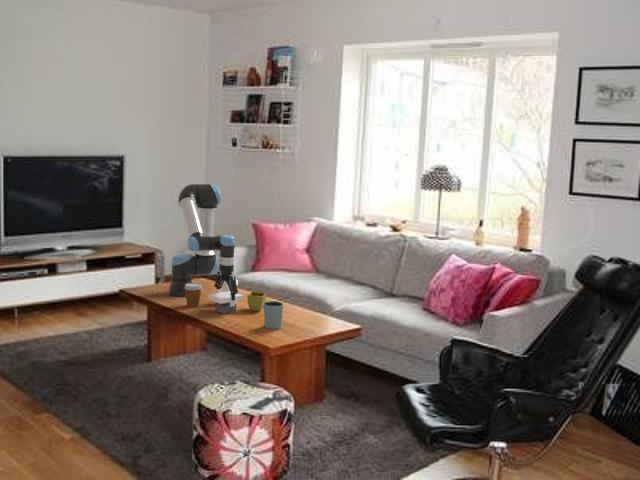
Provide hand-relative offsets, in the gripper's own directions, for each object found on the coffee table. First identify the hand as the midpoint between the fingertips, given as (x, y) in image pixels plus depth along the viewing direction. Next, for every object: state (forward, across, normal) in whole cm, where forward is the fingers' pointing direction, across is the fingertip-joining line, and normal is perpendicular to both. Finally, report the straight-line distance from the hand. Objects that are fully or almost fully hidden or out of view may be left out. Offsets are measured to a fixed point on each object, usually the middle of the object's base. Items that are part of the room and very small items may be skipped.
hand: (225, 303), depth 392 cm
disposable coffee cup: (+5, -18, -10) cm, 21 cm away
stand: (+4, 0, 0) cm, 4 cm away
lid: (-2, 0, 0) cm, 2 cm away
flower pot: (+4, +7, +15) cm, 18 cm away
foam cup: (+5, -14, +11) cm, 18 cm away
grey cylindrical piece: (+4, +38, +3) cm, 38 cm away
